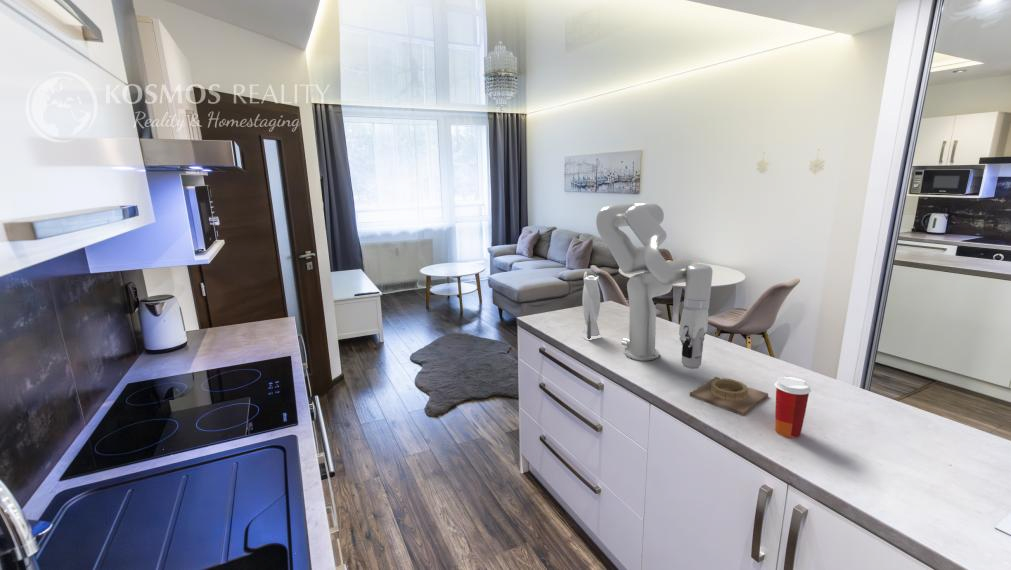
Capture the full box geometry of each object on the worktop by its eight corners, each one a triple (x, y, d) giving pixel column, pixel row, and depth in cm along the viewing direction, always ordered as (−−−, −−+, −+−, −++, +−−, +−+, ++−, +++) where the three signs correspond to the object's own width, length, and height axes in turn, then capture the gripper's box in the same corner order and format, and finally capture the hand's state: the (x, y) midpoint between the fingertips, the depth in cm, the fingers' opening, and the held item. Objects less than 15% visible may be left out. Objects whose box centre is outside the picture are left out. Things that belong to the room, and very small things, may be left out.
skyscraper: (577, 335, 192) (576, 272, 185) (592, 331, 195) (592, 269, 188) (588, 340, 184) (588, 275, 178) (604, 337, 187) (604, 273, 181)
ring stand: (689, 395, 135) (690, 385, 134) (715, 379, 145) (716, 369, 144) (743, 415, 123) (744, 404, 122) (768, 396, 132) (769, 385, 131)
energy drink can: (699, 371, 144) (703, 328, 140) (679, 367, 147) (683, 325, 143) (702, 364, 149) (706, 322, 145) (683, 360, 152) (686, 319, 148)
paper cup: (800, 426, 117) (806, 377, 113) (809, 442, 110) (815, 391, 106) (766, 422, 119) (771, 374, 116) (773, 437, 112) (778, 387, 109)
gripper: (699, 294, 150) (695, 343, 154) (671, 305, 139) (667, 358, 144) (721, 299, 144) (716, 350, 149) (693, 311, 134) (688, 365, 139)
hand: (692, 353), depth 146 cm, fingers closed on energy drink can, 6 cm apart
